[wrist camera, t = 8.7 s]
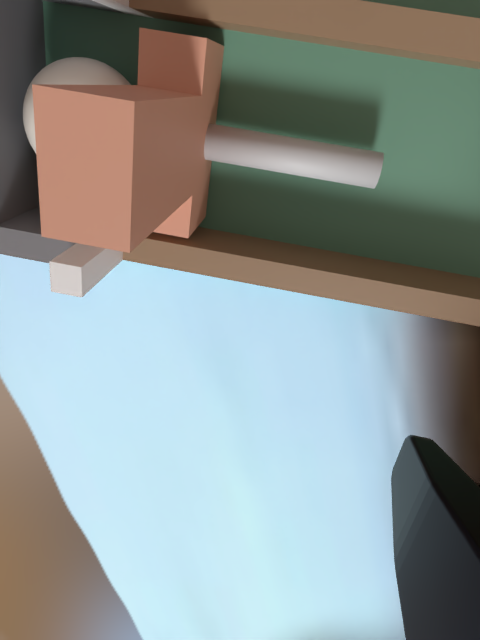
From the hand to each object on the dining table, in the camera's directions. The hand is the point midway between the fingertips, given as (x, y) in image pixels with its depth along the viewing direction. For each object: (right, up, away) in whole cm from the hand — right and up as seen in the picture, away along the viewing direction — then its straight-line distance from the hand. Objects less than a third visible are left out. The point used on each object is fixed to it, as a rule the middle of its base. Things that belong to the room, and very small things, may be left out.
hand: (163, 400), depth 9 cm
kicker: (+2, +8, +8) cm, 12 cm away
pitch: (+5, +8, +9) cm, 13 cm away
